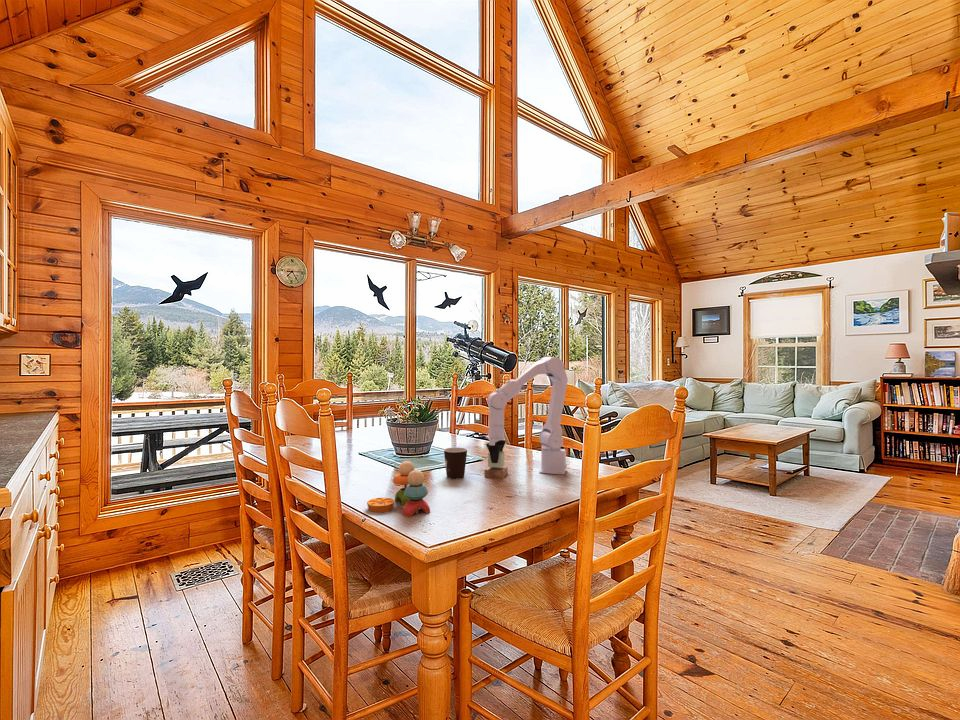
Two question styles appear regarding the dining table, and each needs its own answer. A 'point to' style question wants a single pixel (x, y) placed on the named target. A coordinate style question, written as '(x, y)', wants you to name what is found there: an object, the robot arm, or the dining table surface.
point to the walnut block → (496, 472)
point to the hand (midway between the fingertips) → (496, 461)
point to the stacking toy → (405, 492)
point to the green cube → (500, 461)
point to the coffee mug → (455, 462)
